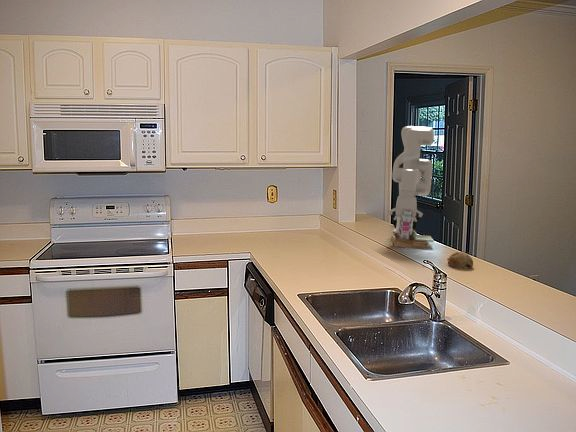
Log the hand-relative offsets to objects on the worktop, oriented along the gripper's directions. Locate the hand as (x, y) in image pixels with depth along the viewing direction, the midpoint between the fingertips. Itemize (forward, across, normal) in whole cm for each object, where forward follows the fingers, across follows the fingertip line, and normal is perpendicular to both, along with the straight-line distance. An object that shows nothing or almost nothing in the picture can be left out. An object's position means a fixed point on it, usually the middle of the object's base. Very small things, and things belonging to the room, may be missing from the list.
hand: (404, 228), depth 273 cm
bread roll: (+8, -20, +43) cm, 48 cm away
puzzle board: (+8, -3, 0) cm, 8 cm away
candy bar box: (+7, 0, 0) cm, 7 cm away
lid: (+5, -9, 0) cm, 10 cm away
